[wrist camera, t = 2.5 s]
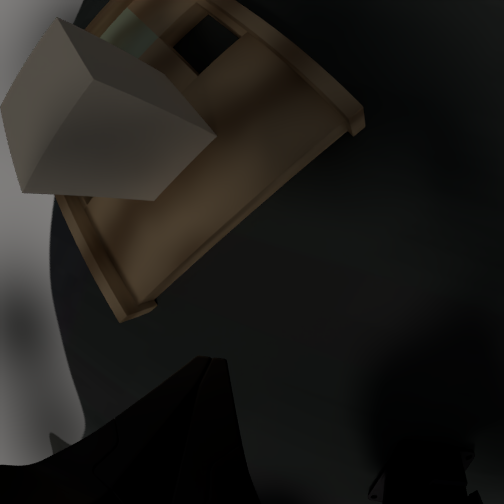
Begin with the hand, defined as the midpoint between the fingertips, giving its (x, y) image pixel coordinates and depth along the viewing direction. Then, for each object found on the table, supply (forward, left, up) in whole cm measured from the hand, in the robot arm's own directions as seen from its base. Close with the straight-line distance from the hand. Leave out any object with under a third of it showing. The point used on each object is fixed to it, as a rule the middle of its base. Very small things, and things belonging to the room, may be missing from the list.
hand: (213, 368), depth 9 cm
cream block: (+8, +11, -10) cm, 17 cm away
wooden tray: (+10, +13, -12) cm, 20 cm away
